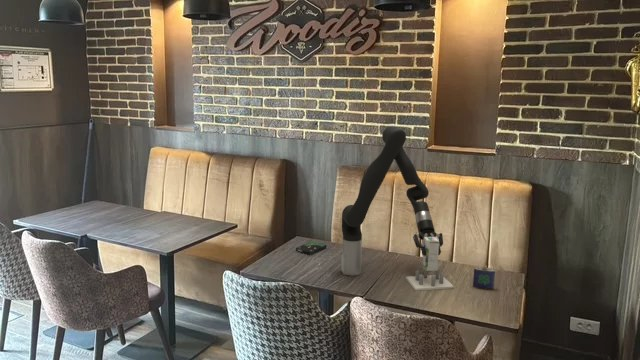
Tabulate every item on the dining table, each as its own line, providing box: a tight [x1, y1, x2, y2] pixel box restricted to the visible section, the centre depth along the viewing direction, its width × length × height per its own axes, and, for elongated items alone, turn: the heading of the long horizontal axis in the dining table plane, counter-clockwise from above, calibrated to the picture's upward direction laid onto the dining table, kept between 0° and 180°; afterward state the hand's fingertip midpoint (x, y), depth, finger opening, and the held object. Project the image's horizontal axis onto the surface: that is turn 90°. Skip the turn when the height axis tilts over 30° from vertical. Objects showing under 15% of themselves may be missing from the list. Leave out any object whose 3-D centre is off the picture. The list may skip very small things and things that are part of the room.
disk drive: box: [295, 241, 328, 256], centre depth 287 cm, size 10×3×15 cm
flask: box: [472, 265, 496, 291], centre depth 238 cm, size 9×3×11 cm, turn 74°
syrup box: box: [422, 236, 439, 272], centre depth 240 cm, size 6×6×14 cm
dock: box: [405, 268, 454, 291], centre depth 243 cm, size 18×14×6 cm
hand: (432, 254), depth 239 cm, fingers closed on syrup box, 6 cm apart
